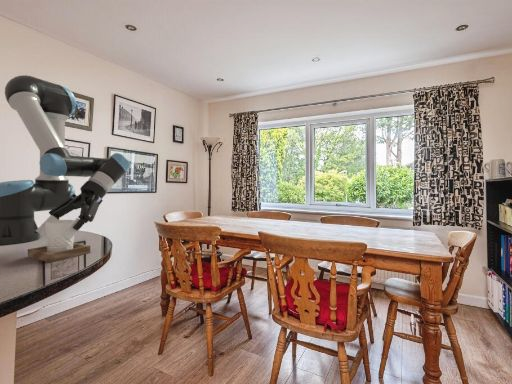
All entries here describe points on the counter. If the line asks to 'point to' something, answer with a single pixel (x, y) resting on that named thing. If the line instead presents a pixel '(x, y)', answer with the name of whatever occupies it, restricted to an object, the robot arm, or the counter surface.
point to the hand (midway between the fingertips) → (51, 235)
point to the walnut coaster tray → (58, 253)
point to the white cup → (57, 236)
